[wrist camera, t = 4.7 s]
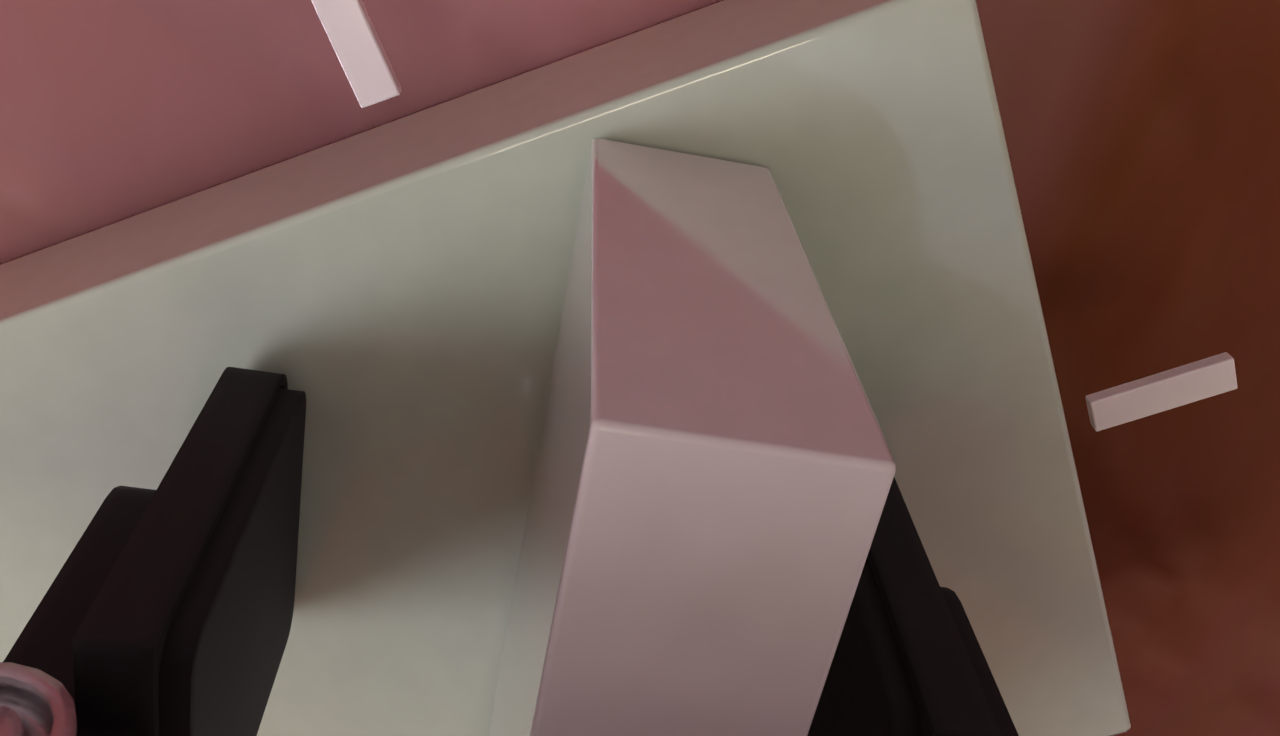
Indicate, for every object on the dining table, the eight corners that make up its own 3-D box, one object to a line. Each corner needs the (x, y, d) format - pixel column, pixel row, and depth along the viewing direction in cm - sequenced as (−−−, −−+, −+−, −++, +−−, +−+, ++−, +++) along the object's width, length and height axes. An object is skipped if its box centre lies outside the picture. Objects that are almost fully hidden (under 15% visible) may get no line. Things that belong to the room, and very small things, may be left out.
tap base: (1018, -356, 11) (1135, -387, 9) (1198, 677, 17) (1297, 827, 14) (-242, 136, 13) (-434, 225, 10) (318, 922, 18) (278, 1093, 16)
